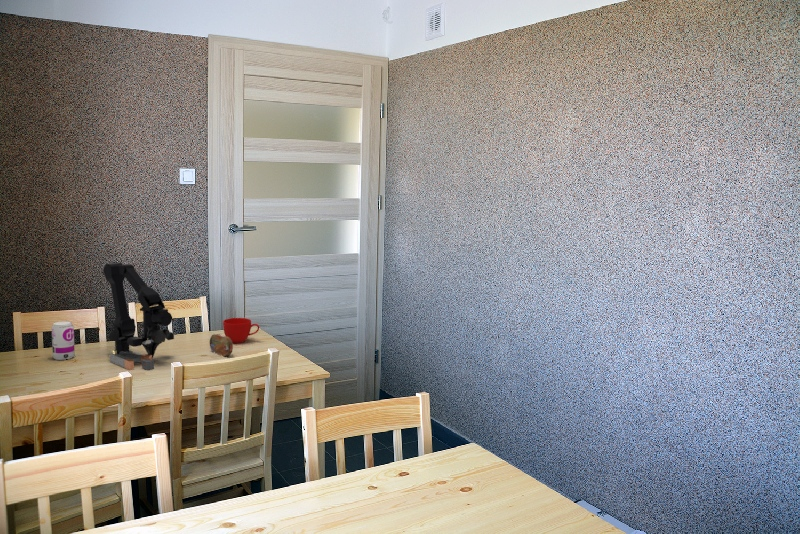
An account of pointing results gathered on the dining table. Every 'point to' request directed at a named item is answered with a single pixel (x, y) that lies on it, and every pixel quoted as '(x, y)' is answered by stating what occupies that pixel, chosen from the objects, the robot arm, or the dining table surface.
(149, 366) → the grey block
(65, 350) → the supplement can
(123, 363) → the tongs fixed arm
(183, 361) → the dining table surface
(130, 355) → the tongs jaw
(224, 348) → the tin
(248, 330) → the ceramic cup
